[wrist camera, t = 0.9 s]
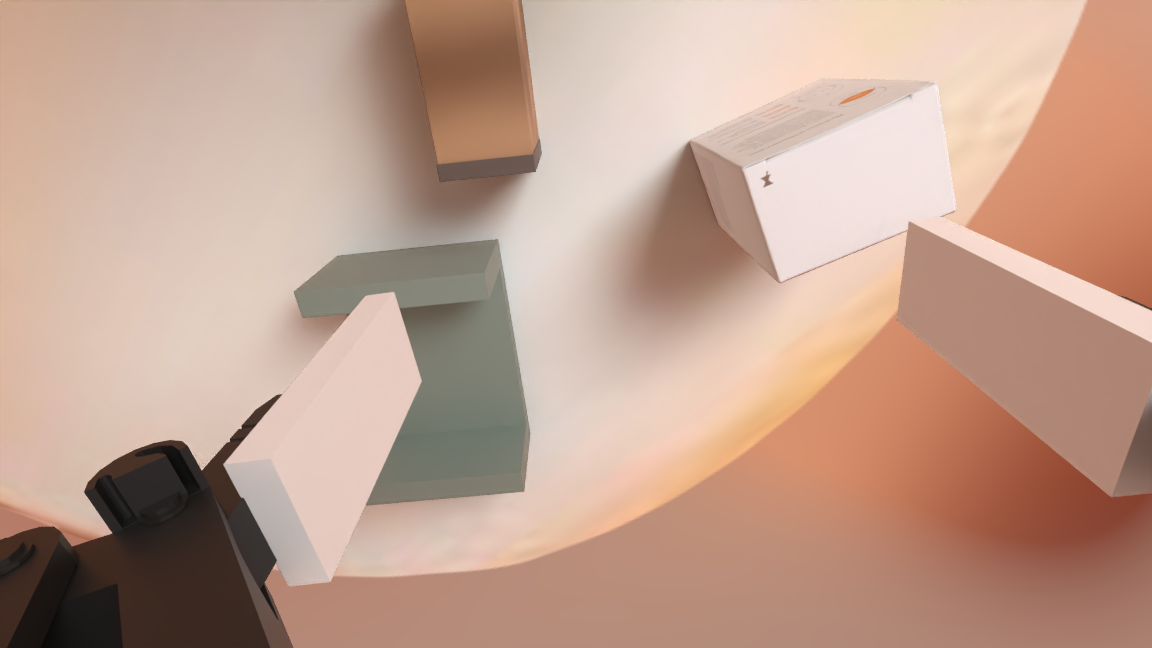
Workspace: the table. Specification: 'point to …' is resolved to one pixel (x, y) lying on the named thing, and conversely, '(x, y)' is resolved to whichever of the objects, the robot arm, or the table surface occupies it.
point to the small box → (828, 171)
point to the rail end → (476, 86)
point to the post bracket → (443, 367)
